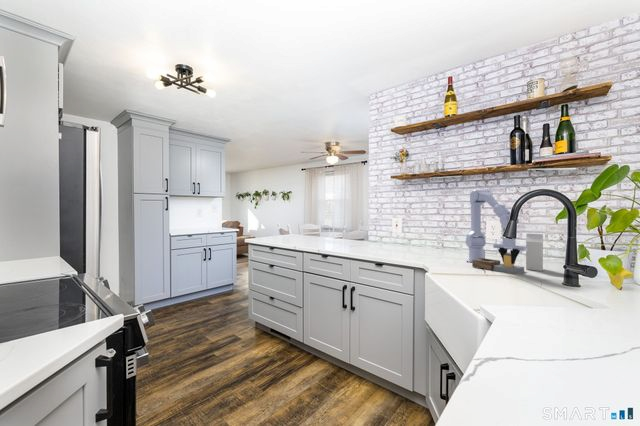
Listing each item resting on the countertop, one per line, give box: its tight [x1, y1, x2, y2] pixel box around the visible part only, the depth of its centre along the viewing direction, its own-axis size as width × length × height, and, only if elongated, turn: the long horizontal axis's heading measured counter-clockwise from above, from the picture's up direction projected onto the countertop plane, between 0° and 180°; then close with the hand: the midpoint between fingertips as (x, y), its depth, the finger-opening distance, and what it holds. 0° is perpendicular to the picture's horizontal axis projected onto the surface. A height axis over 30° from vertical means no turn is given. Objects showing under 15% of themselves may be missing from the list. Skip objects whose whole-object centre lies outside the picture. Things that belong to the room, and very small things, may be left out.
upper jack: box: [471, 257, 501, 271], centre depth 161 cm, size 10×10×4 cm
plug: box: [503, 252, 515, 268], centre depth 151 cm, size 3×3×8 cm
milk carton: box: [525, 233, 544, 272], centre depth 155 cm, size 7×7×19 cm
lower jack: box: [493, 263, 525, 275], centre depth 151 cm, size 10×10×2 cm
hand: (508, 263), depth 151 cm, fingers closed on plug, 3 cm apart
